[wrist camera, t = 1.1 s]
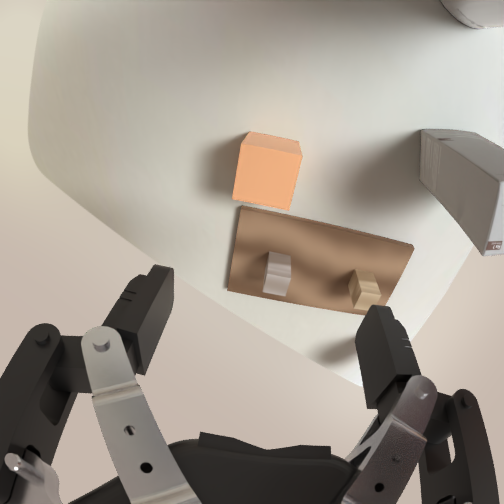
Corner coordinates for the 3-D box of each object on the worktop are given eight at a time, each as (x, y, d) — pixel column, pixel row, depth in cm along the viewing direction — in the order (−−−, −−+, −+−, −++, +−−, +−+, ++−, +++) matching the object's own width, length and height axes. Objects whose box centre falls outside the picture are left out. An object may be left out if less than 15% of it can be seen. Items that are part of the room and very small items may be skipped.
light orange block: (249, 131, 29) (241, 143, 24) (298, 141, 29) (302, 155, 24) (241, 176, 32) (231, 199, 26) (288, 186, 32) (288, 210, 26)
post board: (242, 205, 34) (234, 227, 29) (411, 244, 34) (427, 269, 29) (228, 285, 40) (221, 313, 36) (376, 312, 40) (384, 340, 36)
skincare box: (473, 131, 25) (565, 177, 12) (470, 186, 29) (547, 254, 15) (415, 127, 26) (503, 171, 13) (414, 187, 30) (485, 263, 17)
